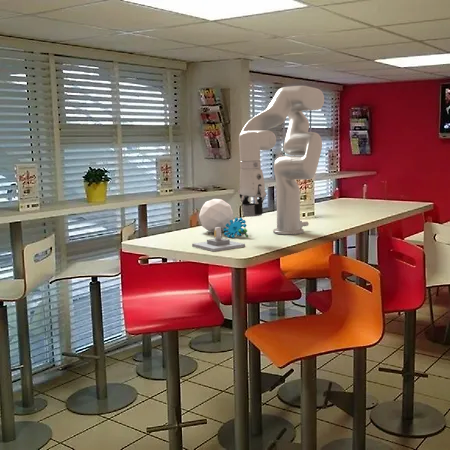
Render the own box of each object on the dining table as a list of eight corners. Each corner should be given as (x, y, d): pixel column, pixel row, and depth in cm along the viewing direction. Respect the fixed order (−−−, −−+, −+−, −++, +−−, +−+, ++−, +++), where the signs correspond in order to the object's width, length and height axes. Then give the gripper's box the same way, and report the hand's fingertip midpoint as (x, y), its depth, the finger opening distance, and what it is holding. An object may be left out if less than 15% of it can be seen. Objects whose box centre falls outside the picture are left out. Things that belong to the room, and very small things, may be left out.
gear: (218, 232, 239) (232, 214, 242) (225, 241, 243) (239, 222, 246) (236, 239, 231) (251, 220, 234) (243, 248, 235) (257, 229, 238)
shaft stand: (223, 241, 227) (222, 223, 226) (245, 246, 216) (244, 227, 215) (192, 246, 219) (191, 227, 218) (213, 251, 208) (212, 231, 207)
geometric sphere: (223, 245, 250) (227, 219, 239) (191, 231, 253) (194, 206, 243) (237, 224, 259) (241, 199, 249) (206, 212, 263) (209, 186, 252)
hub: (254, 212, 227) (253, 202, 226) (265, 214, 221) (264, 204, 220) (239, 215, 223) (239, 204, 222) (250, 217, 217) (250, 206, 217)
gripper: (273, 165, 214) (275, 214, 217) (244, 163, 228) (246, 209, 231) (256, 167, 209) (259, 217, 213) (228, 165, 223) (230, 212, 227)
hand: (252, 212), depth 222 cm, fingers closed on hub, 6 cm apart
